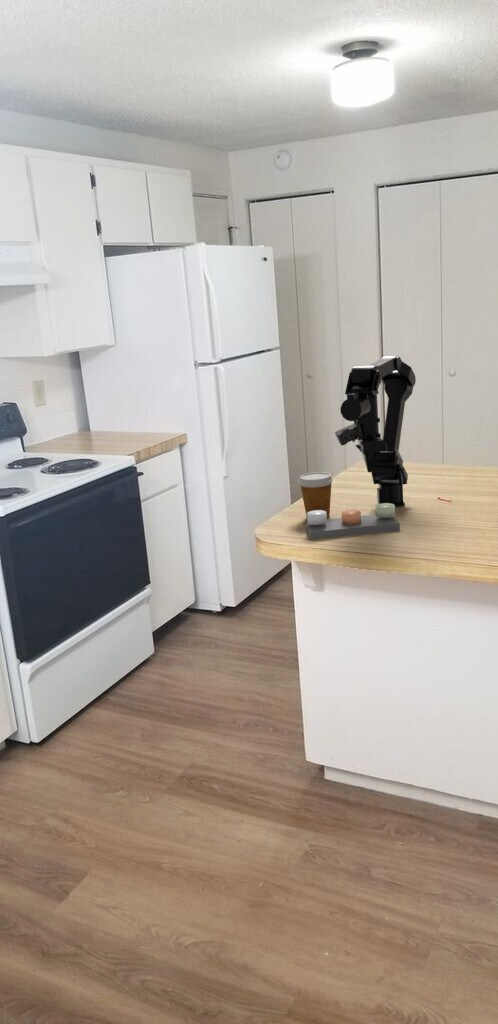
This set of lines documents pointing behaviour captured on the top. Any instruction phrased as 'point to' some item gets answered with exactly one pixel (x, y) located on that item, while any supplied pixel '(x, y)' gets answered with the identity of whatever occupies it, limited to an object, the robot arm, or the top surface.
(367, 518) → the panel
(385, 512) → the button sage
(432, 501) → the top surface
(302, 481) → the disposable coffee cup
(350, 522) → the button terracotta
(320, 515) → the button bluegrey
